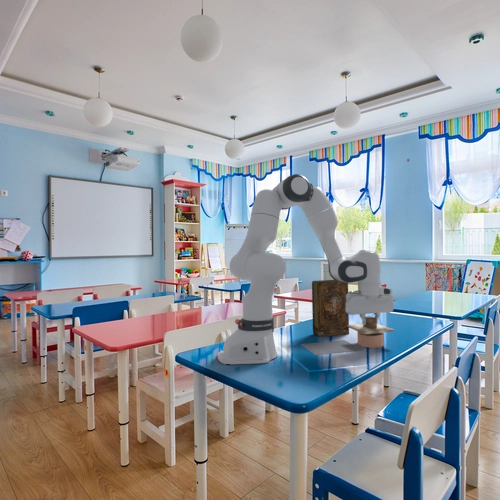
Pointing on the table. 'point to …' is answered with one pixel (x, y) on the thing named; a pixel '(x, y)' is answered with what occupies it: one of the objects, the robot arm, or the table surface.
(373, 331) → the board
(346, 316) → the book
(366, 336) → the bowl
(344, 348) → the mat
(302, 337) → the table surface
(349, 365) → the table surface
